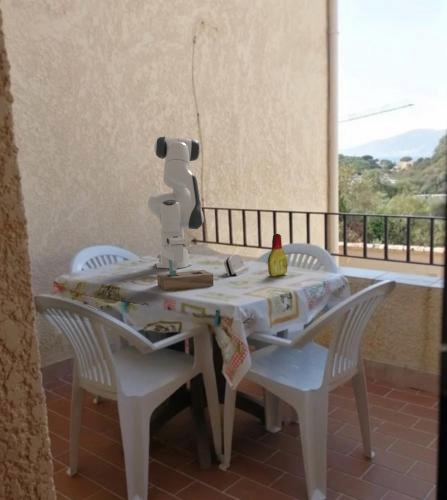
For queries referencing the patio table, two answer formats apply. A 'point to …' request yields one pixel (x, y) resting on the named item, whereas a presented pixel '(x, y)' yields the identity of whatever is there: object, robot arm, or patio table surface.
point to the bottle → (277, 258)
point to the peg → (172, 273)
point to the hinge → (235, 265)
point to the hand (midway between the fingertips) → (172, 269)
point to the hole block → (185, 280)
